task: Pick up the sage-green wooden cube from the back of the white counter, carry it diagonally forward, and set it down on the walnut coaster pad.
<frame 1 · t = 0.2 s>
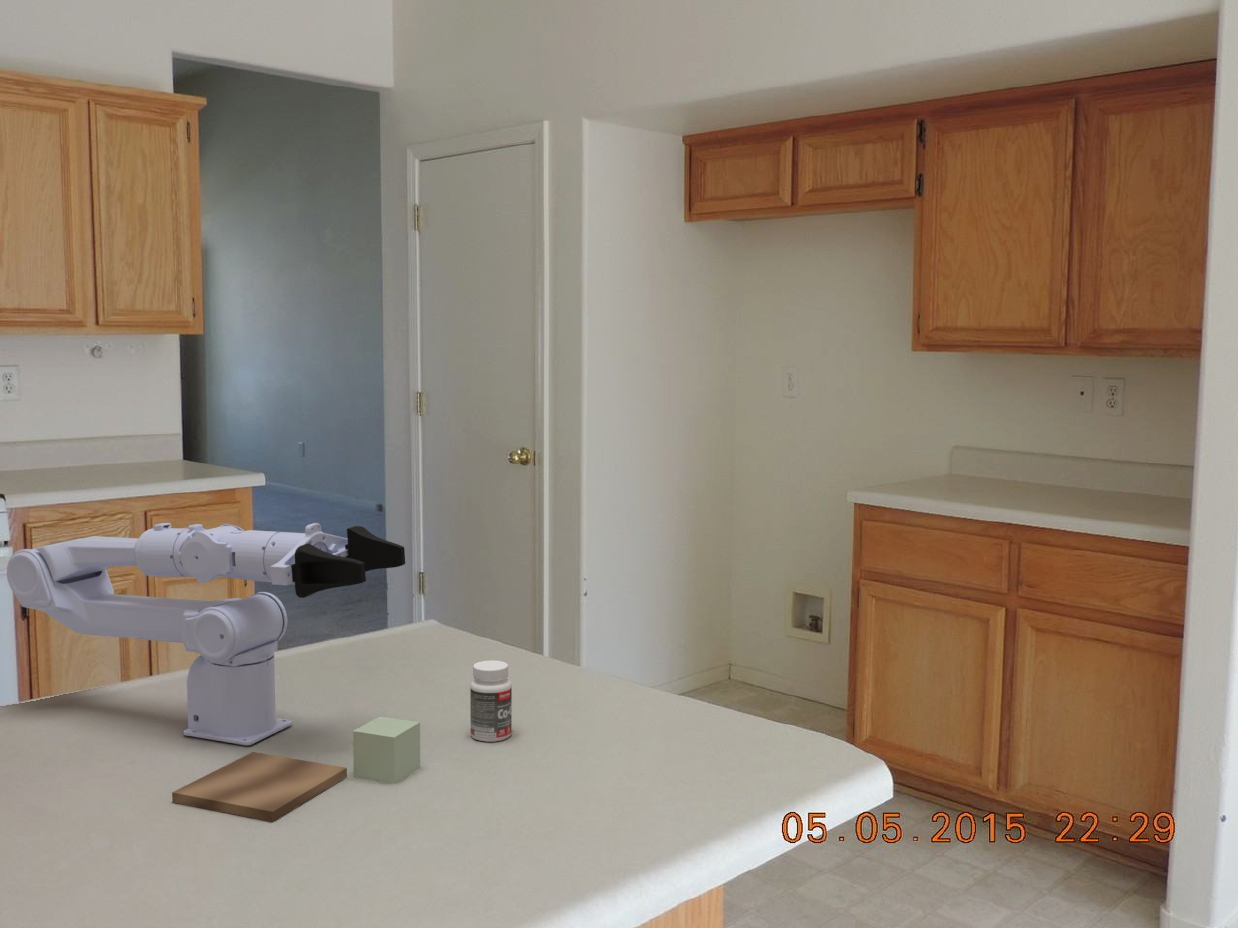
hand: (383, 564, 122), 21 cm above the countertop, tool horizontal, fingers open, 7 cm apart
sage cube: (387, 772, 120), on the countertop
pill bottle: (491, 737, 131), on the countertop
walnut pad: (262, 789, 115), on the countertop
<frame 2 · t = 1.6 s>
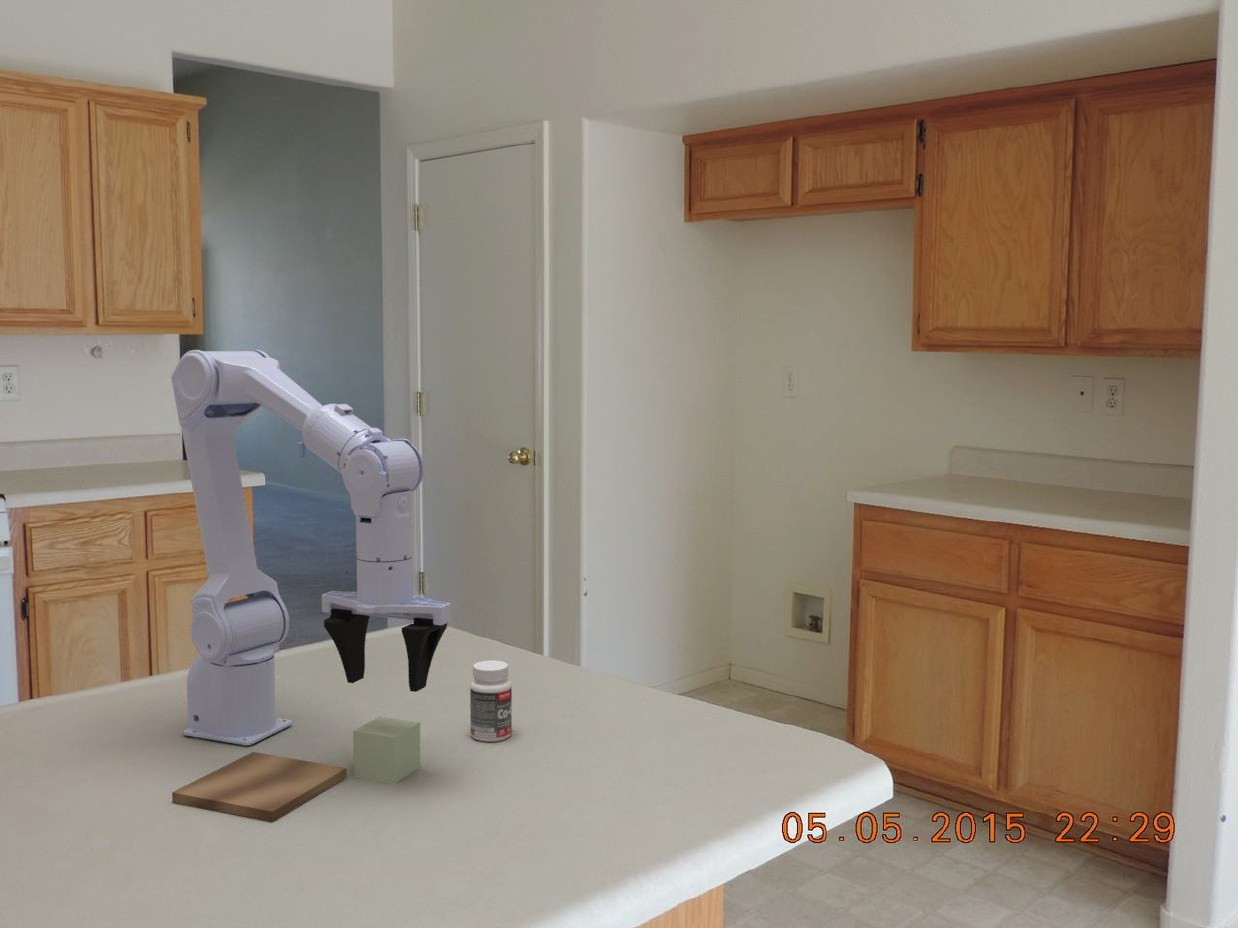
hand: (386, 684, 119), 9 cm above the countertop, tool pointing down, fingers open, 7 cm apart
nothing on the countertop moved.
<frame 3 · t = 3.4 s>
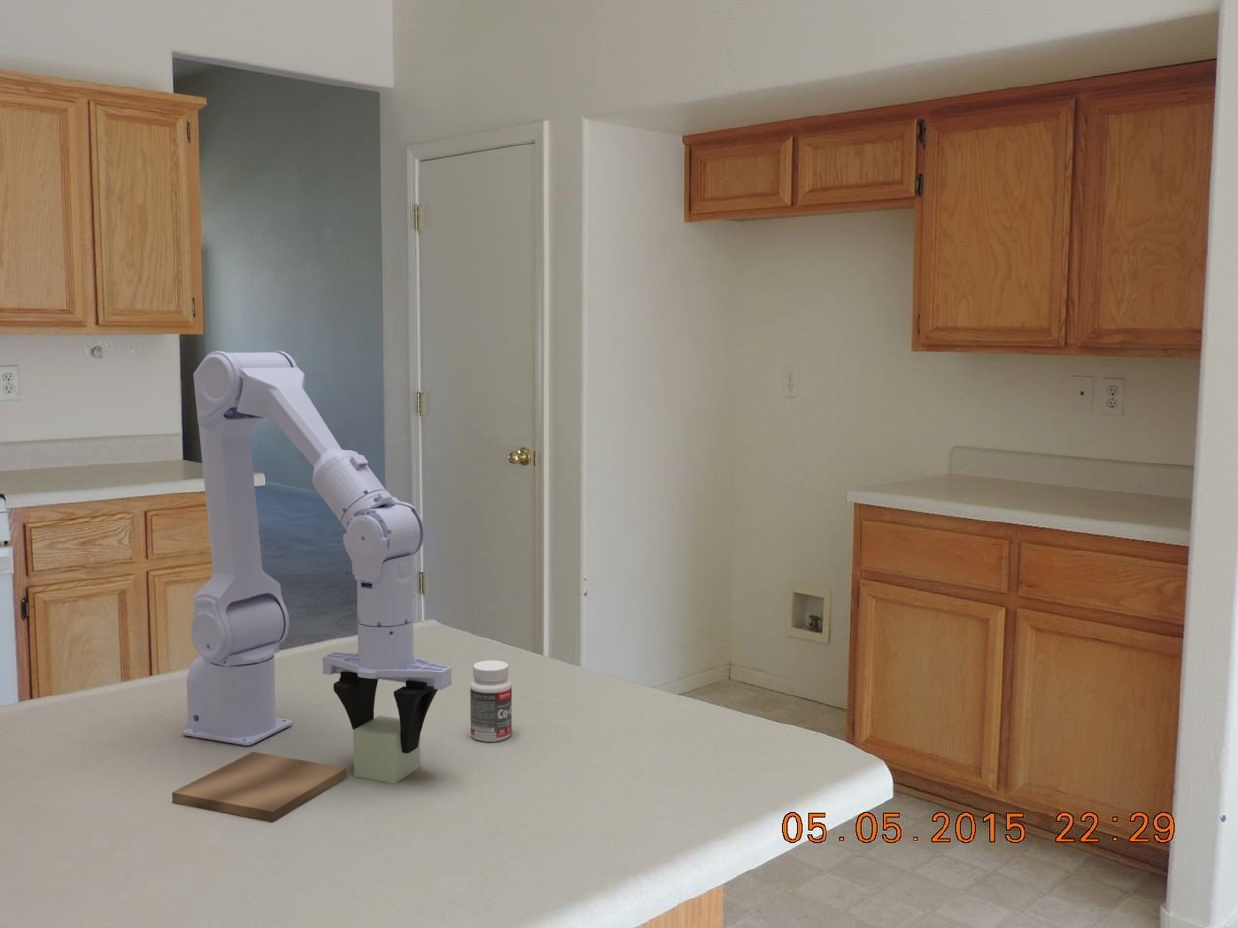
hand: (387, 746, 119), 3 cm above the countertop, tool pointing down, fingers closed on sage cube, 5 cm apart
sage cube: (387, 771, 120), on the countertop, touching gripper
everything else where it was.
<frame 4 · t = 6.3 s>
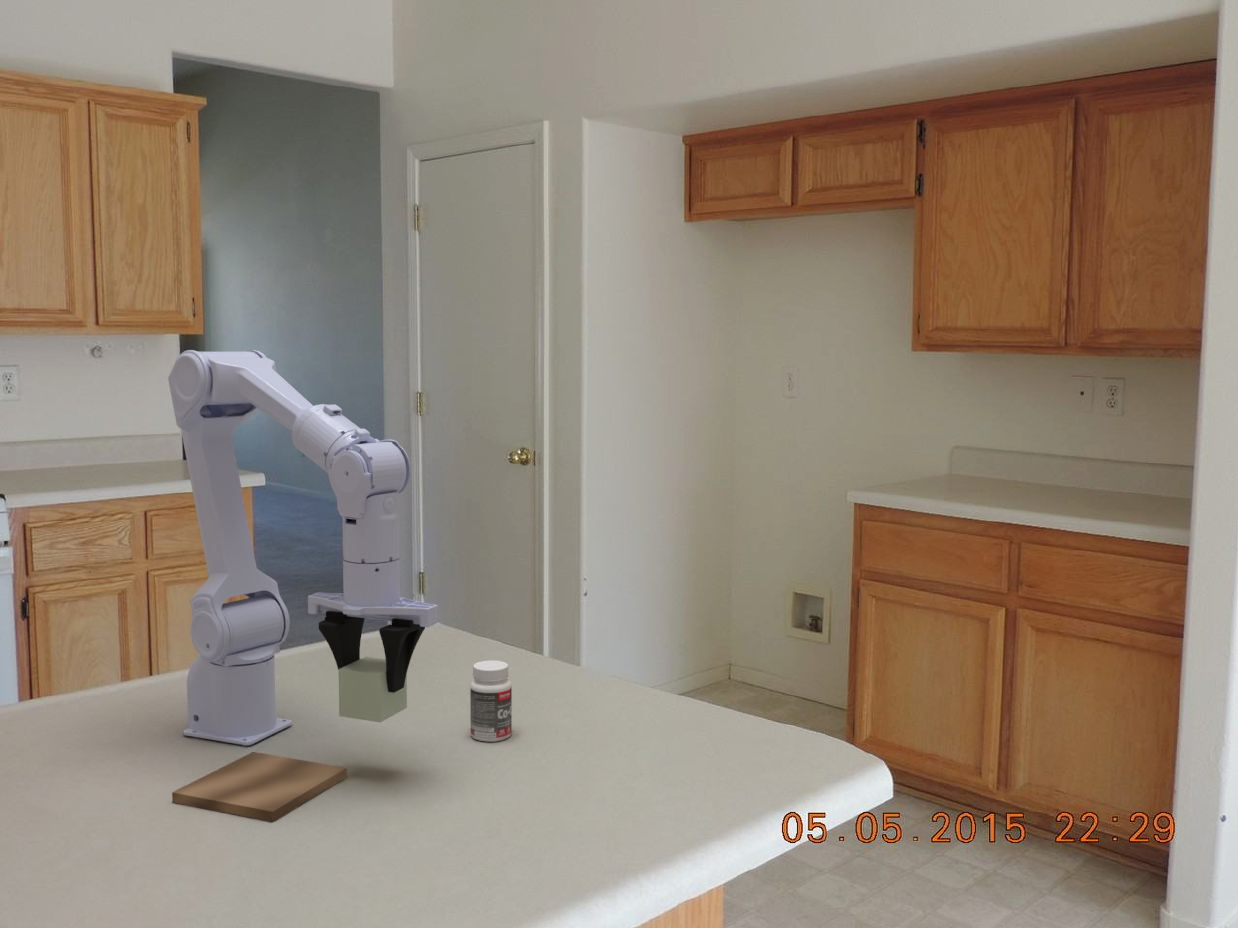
hand: (372, 686, 118), 9 cm above the countertop, tool pointing down, fingers closed on sage cube, 5 cm apart
sage cube: (373, 711, 119), point 7 cm above the countertop, touching gripper
everything else where it was.
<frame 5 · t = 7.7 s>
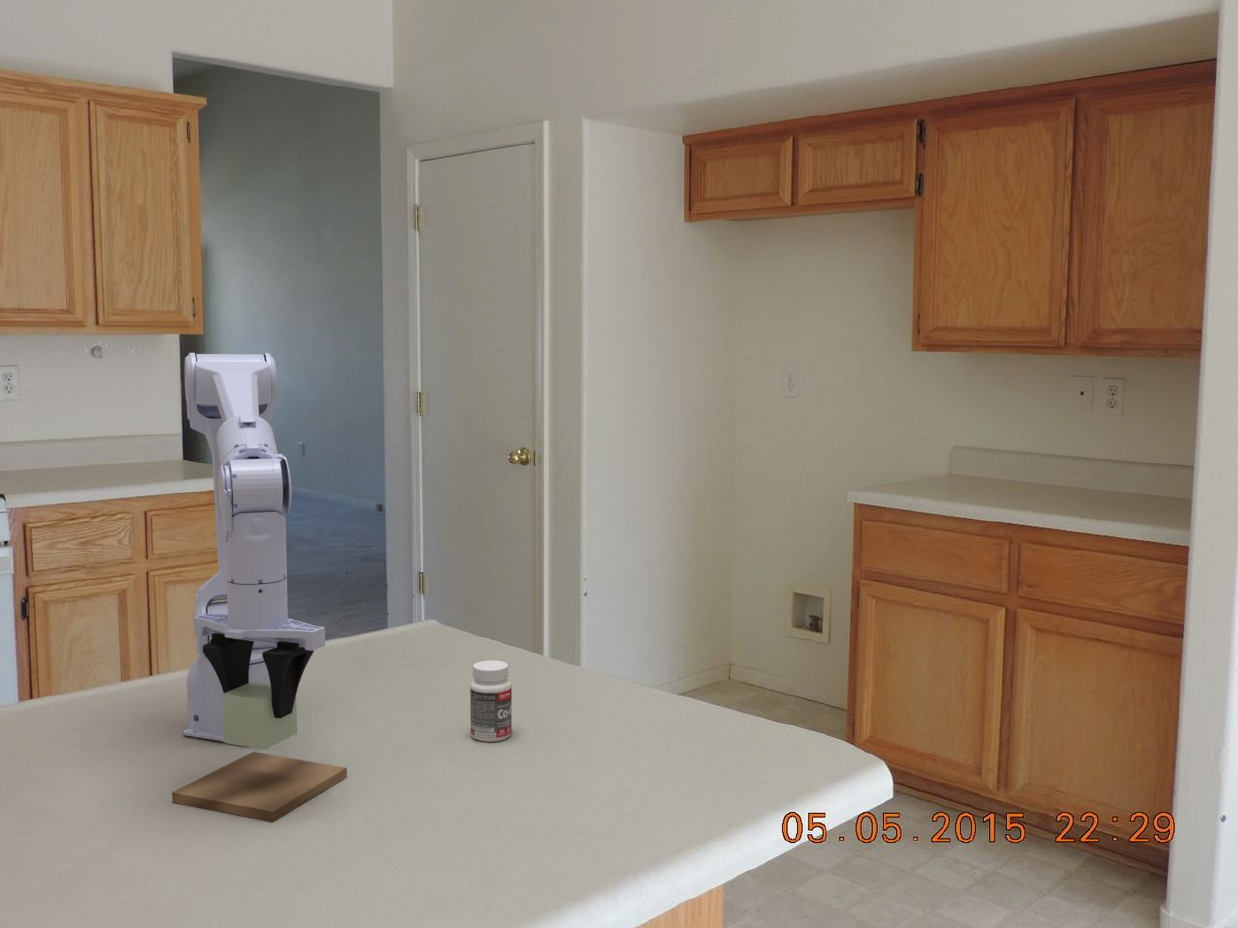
hand: (260, 711, 114), 8 cm above the countertop, tool pointing down, fingers closed on sage cube, 5 cm apart
sage cube: (260, 737, 114), point 5 cm above the countertop, touching gripper
everything else where it was.
when the fingers open (5 cm above the countertop, at t = 9.2 s): sage cube drops 1 cm, resting on walnut pad.
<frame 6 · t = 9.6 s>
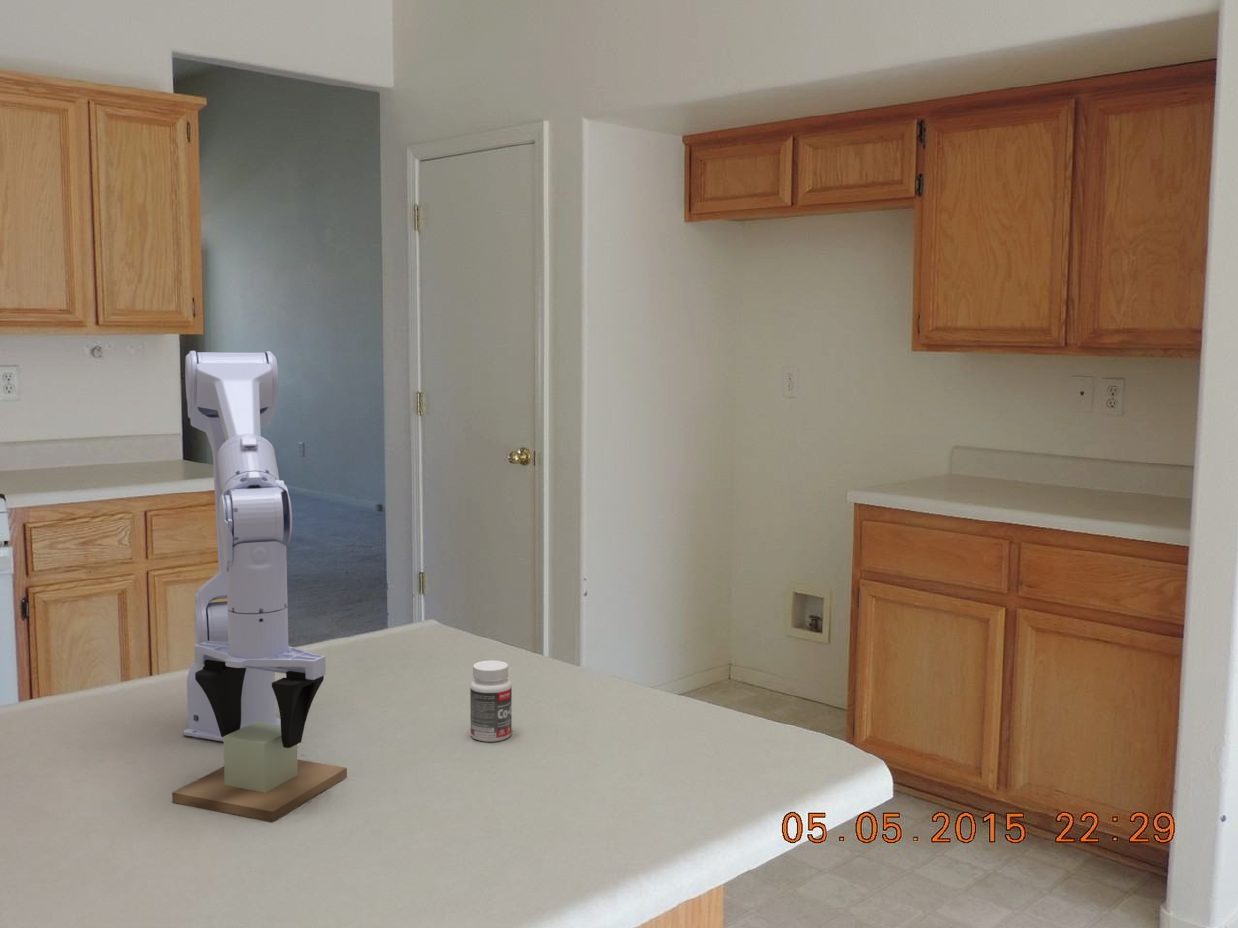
hand: (261, 739, 114), 5 cm above the countertop, tool pointing down, fingers open, 7 cm apart
sage cube: (261, 779, 114), point 1 cm above the countertop, touching walnut pad
everything else where it was.
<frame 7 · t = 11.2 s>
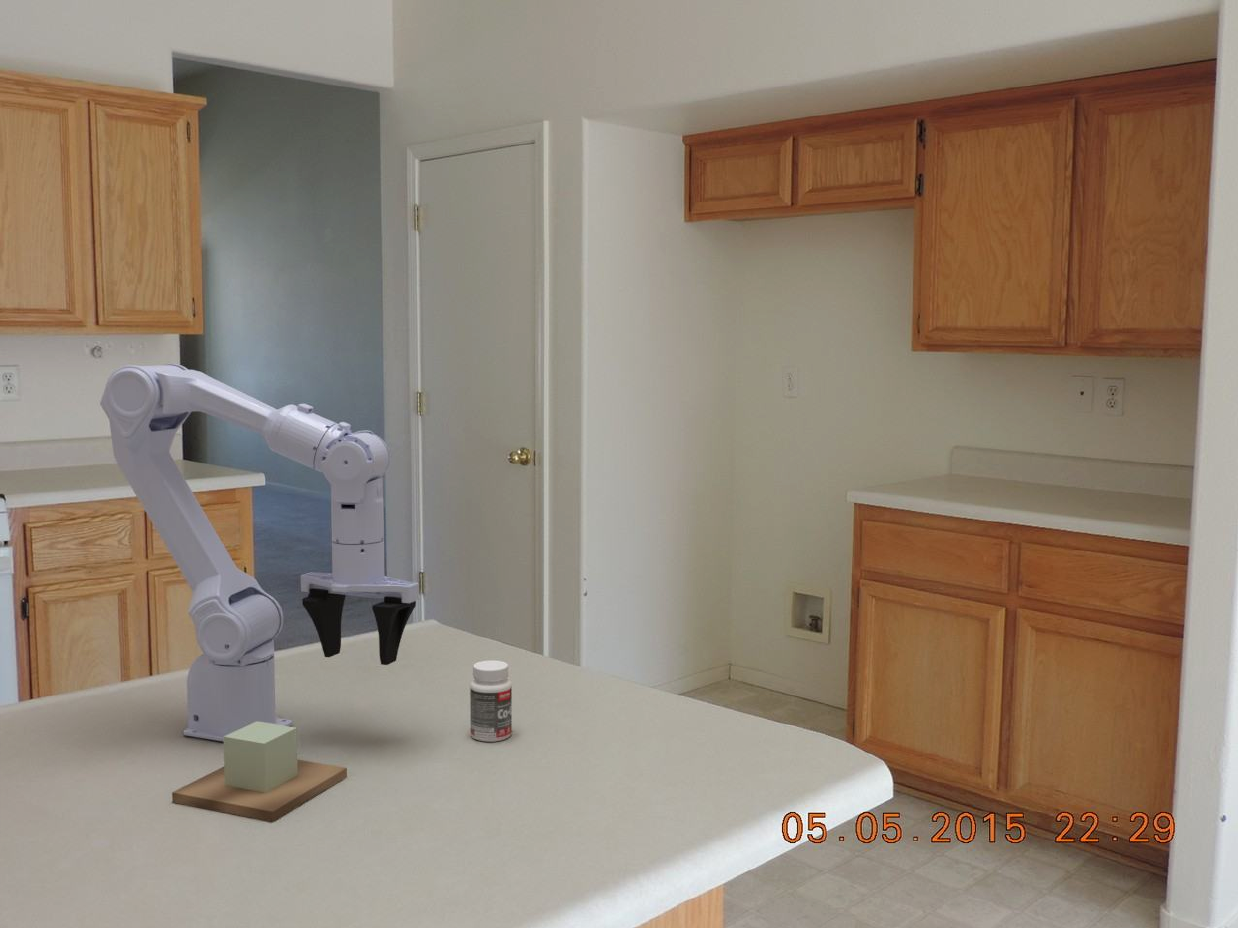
hand: (360, 658, 128), 9 cm above the countertop, tool pointing down, fingers open, 7 cm apart
nothing on the countertop moved.
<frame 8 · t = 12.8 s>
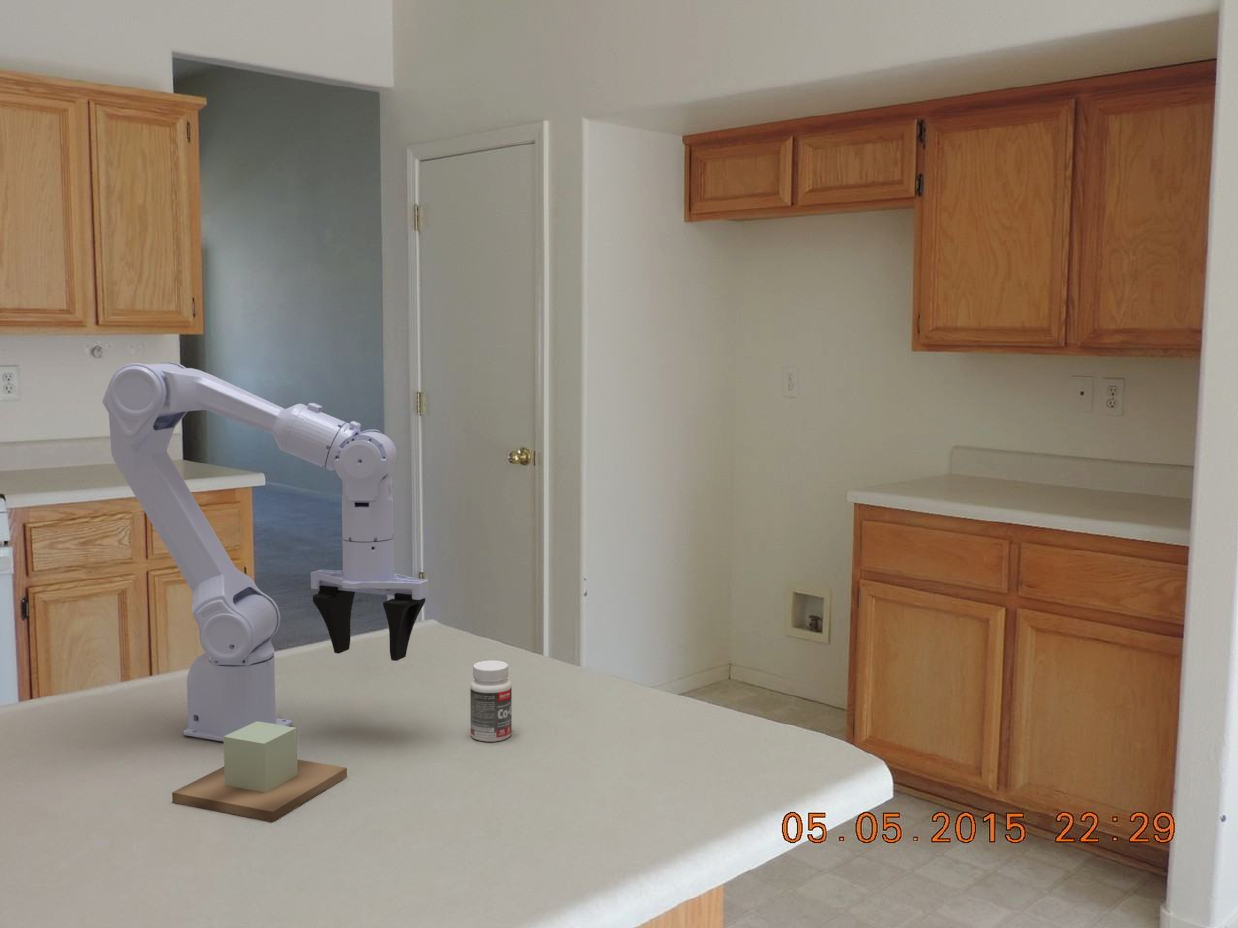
hand: (369, 654, 130), 9 cm above the countertop, tool pointing down, fingers open, 7 cm apart
nothing on the countertop moved.
at the end: sage cube inside the target area on the walnut pad (0.1 cm from its centre), point 1.0 cm above the walnut pad's base; sage cube tilted 0°; the gripper is holding nothing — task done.
